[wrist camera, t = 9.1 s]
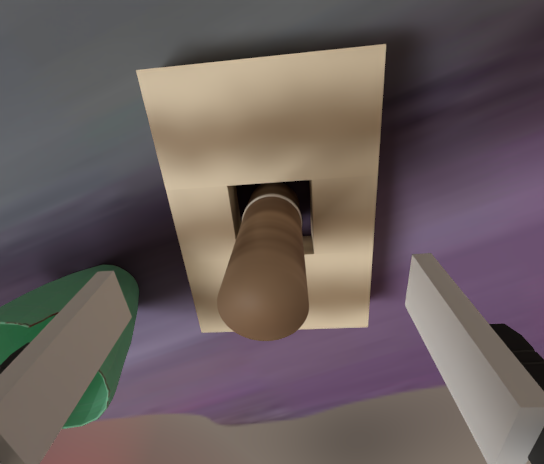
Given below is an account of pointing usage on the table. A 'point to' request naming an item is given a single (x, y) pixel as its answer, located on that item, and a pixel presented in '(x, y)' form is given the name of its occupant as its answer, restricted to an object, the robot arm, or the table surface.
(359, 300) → the board
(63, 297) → the mug
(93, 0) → the table surface
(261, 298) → the peg
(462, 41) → the table surface
